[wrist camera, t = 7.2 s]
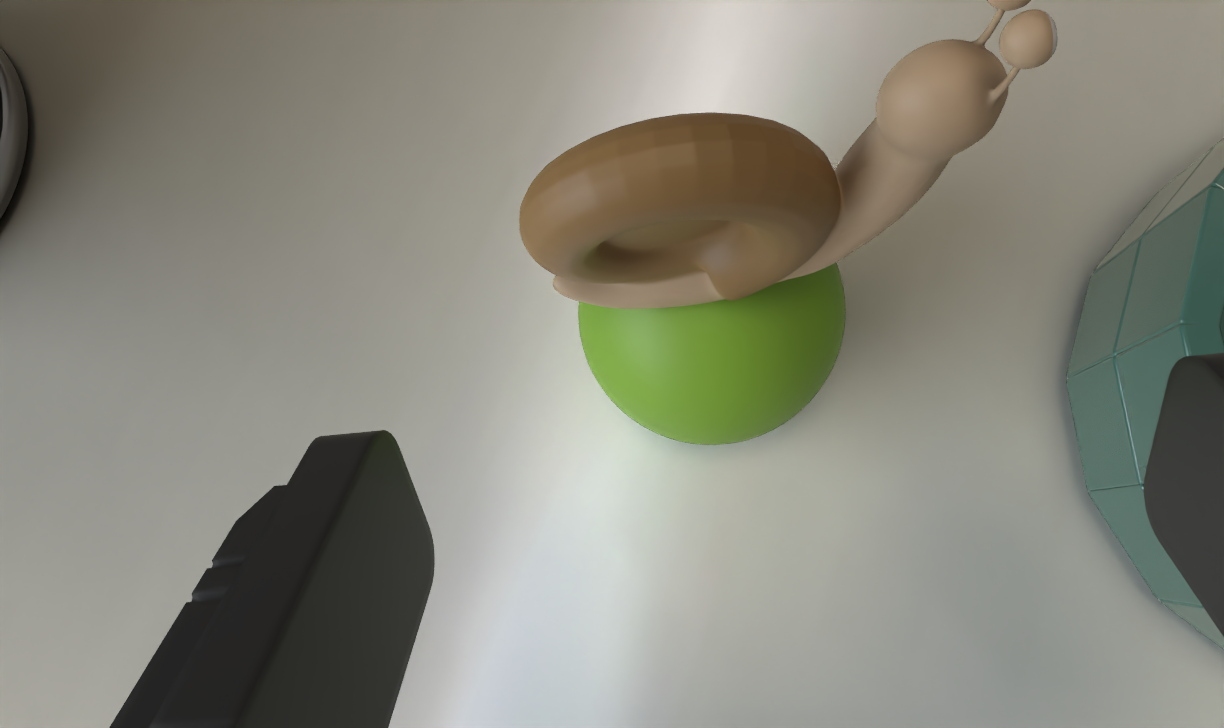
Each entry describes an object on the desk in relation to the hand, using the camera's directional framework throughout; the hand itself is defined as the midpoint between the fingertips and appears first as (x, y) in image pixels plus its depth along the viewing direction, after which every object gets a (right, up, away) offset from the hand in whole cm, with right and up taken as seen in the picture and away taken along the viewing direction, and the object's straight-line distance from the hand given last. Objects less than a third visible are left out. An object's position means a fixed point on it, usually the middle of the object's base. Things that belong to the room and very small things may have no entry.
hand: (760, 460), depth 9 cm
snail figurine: (+1, +2, +11) cm, 11 cm away
